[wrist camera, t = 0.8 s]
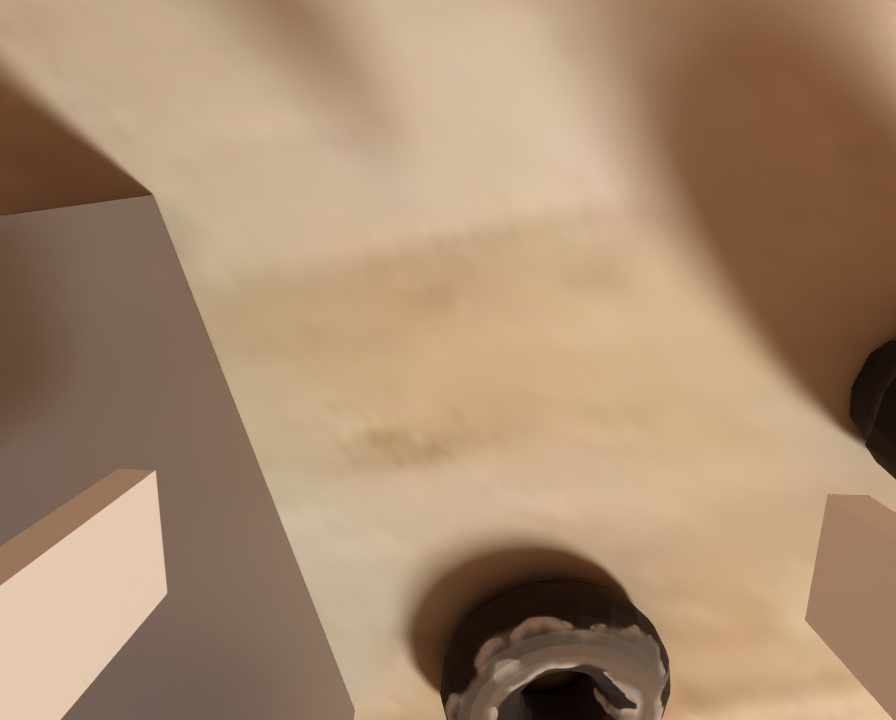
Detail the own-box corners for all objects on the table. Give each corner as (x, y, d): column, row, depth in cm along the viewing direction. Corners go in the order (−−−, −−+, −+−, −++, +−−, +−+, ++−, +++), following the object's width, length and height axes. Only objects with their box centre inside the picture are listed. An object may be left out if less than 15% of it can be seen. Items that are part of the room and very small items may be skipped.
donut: (496, 754, 33) (506, 831, 29) (400, 620, 29) (398, 688, 25) (679, 678, 32) (715, 747, 28) (604, 528, 28) (634, 585, 24)
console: (-50, 242, 21) (-800, 378, 8) (153, 194, 21) (-275, 254, 8) (214, 741, 31) (67, 1173, 18) (354, 710, 31) (312, 1122, 18)
